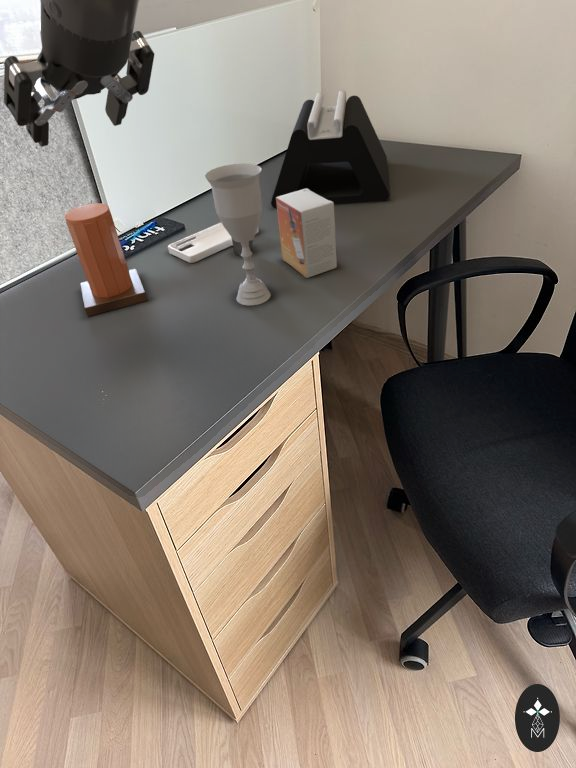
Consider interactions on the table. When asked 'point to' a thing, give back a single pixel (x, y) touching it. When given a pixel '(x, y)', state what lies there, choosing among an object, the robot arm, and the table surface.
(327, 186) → the device stand
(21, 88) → the robot arm
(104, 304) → the stand
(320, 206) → the small box
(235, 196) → the chalice
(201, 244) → the phone case
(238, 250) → the milkshake
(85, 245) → the cup
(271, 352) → the table surface
